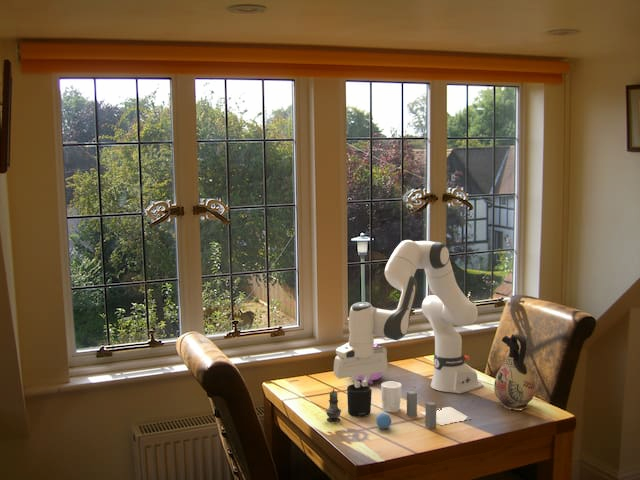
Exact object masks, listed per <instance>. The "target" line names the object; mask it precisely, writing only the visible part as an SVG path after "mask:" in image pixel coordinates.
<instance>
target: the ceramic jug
mask: <svg viewBox="0 0 640 480" xmlns="http://www.w3.org/2000/svg"><path fill="white" fill-rule="evenodd" d="M501 342H502V343H504V344H505V345H507V347H509V354H508V355H507V357H506V359H505V360H504V361H503V363H502V364H501V366H500V367H499V368H498V371H497V373H496V375H495V379H494V385H493V386H494V389H493V390H494V393H495V396H496V398H497V399H498V400H499V401H500V403H501V405H502V407H503V406H505V407H507V408H511V409H524V408H526V407H527V408H528V404H529V403H530V402H531V401H532V400H533V399H534V396H535V391H536V387H535V382H534V378H533V375H532V372H531V371H530V369H529V368H528V366H527V364H526V363H525V362H524V361H525V358H526V354H527V340H526V338H525V336H522V335H521V334H511V336H510V337H509V336H507V335H505V336H503V337H502V339H501ZM518 342H519V343H518ZM505 407H504V408H505ZM507 408H506V409H507ZM527 408H526V409H527ZM511 409H510V410H511ZM524 410H525V409H524Z"/></svg>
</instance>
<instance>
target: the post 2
mask: <svg viewBox="0 0 640 480" xmlns="http://www.w3.org/2000/svg"><path fill="white" fill-rule="evenodd" d="M436 409H437V403H435V402H434V401H428V402H425V411H426V412H425V416H424V417H425V424H424V427H426V428H427V429H429V430H431V429H435V428H437V423H436Z"/></svg>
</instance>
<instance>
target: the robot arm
mask: <svg viewBox="0 0 640 480" xmlns="http://www.w3.org/2000/svg"><path fill="white" fill-rule="evenodd" d="M418 269H419V270H422V269H423V270H424V273H425V276H426V280H427V283H428V289H429V290H430V292H431V293H432V294H430V295H427V296H426V297H424V299H423V300H422V303H421V311H422V314H423V316H425V318H426V319H427V320H428V322H429V323H430V326H431V328H432V331H433V335H434V353H433V367H434V368H433V375H432V380H431V383H430V387H431V388H432V389H433V390H436V391H440V392H445V393H455V394H463V393H467V392H470V391H473V390H477V389H480V388H483V387H484V384H483V383H482V381H480V380H479V379H478V374H477V371H476V370H475V369H474V368H472V367H471V366H470V365H469V364H467V363H466V362H468V361H470V359H471V358H470V356H468V355H464V354H462V352H463V351H462V348H463V347H462V345H463V344H462V341H463V340H462V339H463V338H462V336H461V335H460V332H458V331H457V330H456V328H455V327H454V325H456V326H459V327H461V326H462V327H463V326H466V327H467V326H472V325H474V323H475V322H476V320H477V318H478V316H479V315H478V313H479V310H478V308H477V305H476V304H475V303H474V302H472V301H471V300H470V299H468V297H467V296H466V295H465V294H464V293H463V291H462V289H460V287H459V285H458V283H457V279H456V277H455V273H454V270H453V266H452V264H451V260H450V249H449V248H448V246H447V245H446V244H445V243H443V242H439V241H430V240H418V241H417V240H414V241H413V240H411V239H405V240H402V241H401V242H399V244H398V245H397V246H396V248H394V250H393V252H392V254H391V255H390V257H389V259H388V260H387V262H386V265H385V268H384V276H385V279H386V281H387V282H388V283H389V285H390V286H392V287H393V288H395V289H396V290H398V291H400V292H401V294H400V297H399V302H398V304H397V308H396V309H394V310H389V309H382V308H379V307H374V306H372V304H371V303H370V302H367V301H359V302H358V301H357V302H356V303H354V304H352V305H351V306H350V310H349V314H348V315H349V316H348V331H349V337H348V341H347V342H346V343H345V344H343V345H341V346H339V347H337V348H335V354H336V356H335V358H334V361H333V376H335V377H336V378H337V379H346V378H351V379H352V382H354V384H355V387H356V388H358V387H360V384H362V386H363V387H365V386H368V384H367V382H368V380H369V378H370V374H373V373H379V372H387V370H388V367H389V366H388V365H389V364H388V358H387V355H388V349H387V348H386V347H385V346H384V345H378V346H377V347H374V344H375V342H374V337H373V336H377V337H382V338H387V339H390V340H392V341H398V340H401V339H402V338H404V337H405V336H406V335H407V334H408V332H409V329H410V328H409V327H410V320H411V315H412V314H411V313H412V311H413V307H414V304H415V303H414V302H415V299H416V294H417V291H418V282H417V279H416V278H415V275H416V272H417V270H418ZM465 361H466V362H465ZM360 375H365V378H364V380H361V382H360V381H357V379H358V376H360Z"/></svg>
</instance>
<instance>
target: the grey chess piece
mask: <svg viewBox="0 0 640 480" xmlns="http://www.w3.org/2000/svg"><path fill="white" fill-rule="evenodd" d="M328 402H329V407H328V408H326V409H325V412H326V415H327V418H326V421H327V422H328V423H339V422H341V418H340V416H341V412H342V409H340V408H339V404H338V402H339V400H338V392H337V391H336V390H335V389H332V391H330V392H329V400H328Z"/></svg>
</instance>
